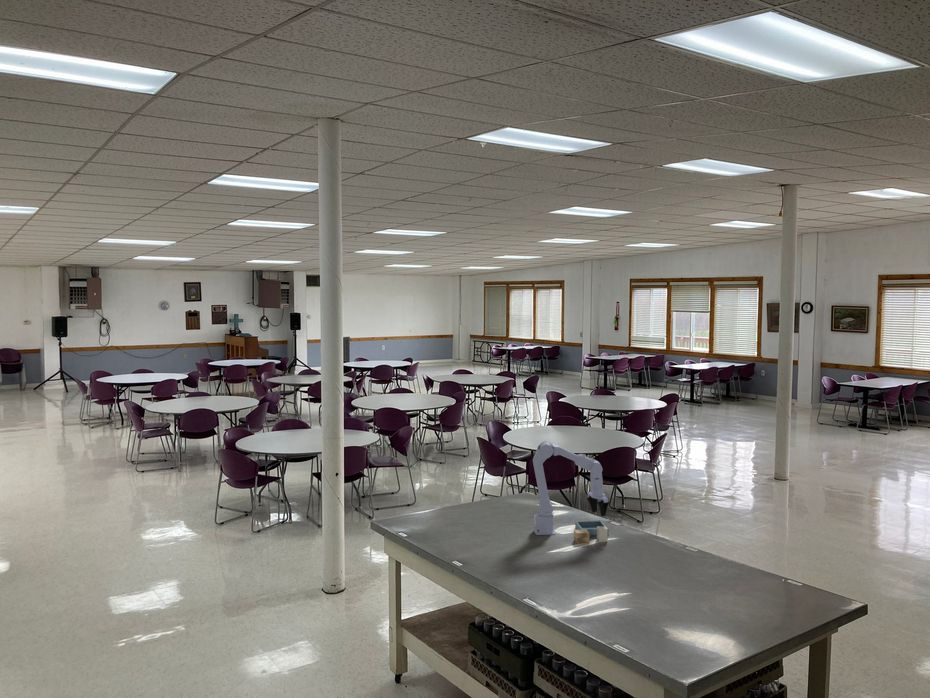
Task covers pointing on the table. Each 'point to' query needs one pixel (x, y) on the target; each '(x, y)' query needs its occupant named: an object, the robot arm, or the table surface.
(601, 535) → the cream carton
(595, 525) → the tote
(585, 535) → the oak block
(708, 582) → the table surface
